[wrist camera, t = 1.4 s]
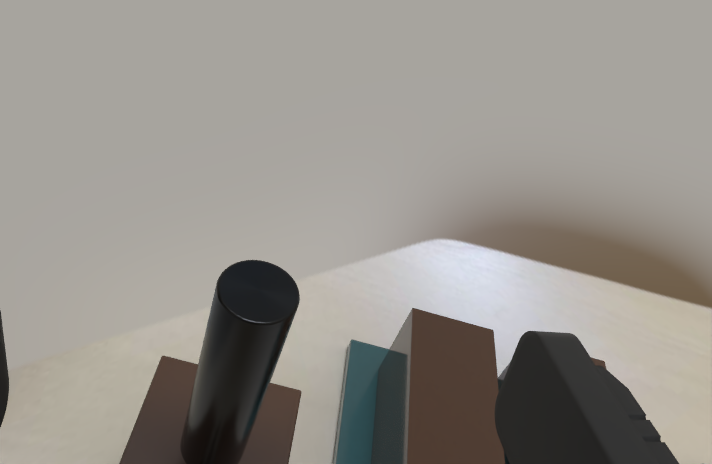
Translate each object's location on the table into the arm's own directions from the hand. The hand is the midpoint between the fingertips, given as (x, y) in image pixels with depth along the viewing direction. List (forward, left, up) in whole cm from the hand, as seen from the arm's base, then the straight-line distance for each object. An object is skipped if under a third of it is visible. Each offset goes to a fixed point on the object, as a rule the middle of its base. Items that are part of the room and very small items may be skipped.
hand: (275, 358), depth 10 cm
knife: (-4, +6, -29) cm, 30 cm away
